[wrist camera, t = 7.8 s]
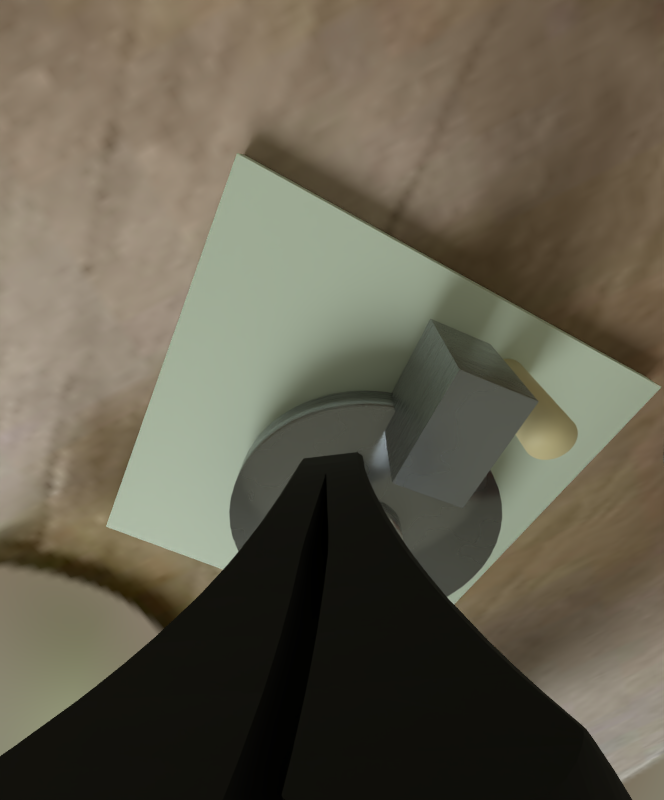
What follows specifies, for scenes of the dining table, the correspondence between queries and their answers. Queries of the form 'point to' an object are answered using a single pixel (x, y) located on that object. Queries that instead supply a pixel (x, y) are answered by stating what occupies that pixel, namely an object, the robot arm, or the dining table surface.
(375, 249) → the board
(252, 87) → the dining table surface
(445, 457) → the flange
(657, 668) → the dining table surface
